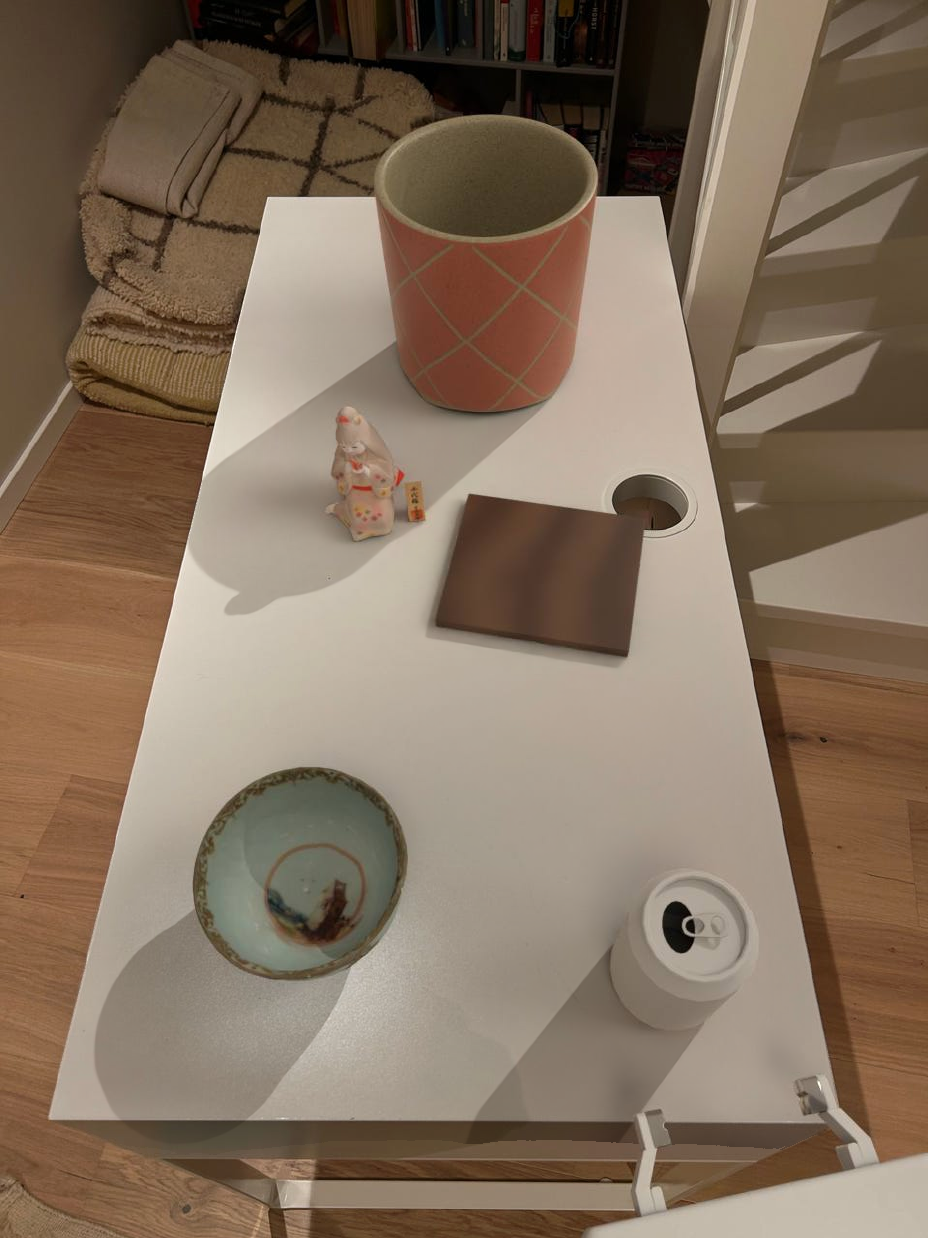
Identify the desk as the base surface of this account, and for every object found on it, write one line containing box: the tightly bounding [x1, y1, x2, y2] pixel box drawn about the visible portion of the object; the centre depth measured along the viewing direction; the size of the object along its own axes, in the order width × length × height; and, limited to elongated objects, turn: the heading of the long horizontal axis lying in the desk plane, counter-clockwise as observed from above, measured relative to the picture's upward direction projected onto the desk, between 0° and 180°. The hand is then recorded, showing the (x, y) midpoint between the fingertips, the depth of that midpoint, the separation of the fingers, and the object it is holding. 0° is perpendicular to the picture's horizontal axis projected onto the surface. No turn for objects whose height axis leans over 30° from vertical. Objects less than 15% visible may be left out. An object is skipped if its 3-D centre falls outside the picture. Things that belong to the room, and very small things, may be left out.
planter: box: [373, 114, 599, 413], centre depth 86 cm, size 19×19×20 cm
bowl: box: [192, 766, 409, 982], centre depth 61 cm, size 14×13×8 cm
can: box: [609, 867, 760, 1032], centre depth 56 cm, size 8×8×12 cm
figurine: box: [325, 406, 426, 542], centre depth 79 cm, size 9×7×12 cm
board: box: [434, 493, 646, 658], centre depth 79 cm, size 16×14×1 cm
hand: (727, 1094), depth 52 cm, fingers open, 8 cm apart
